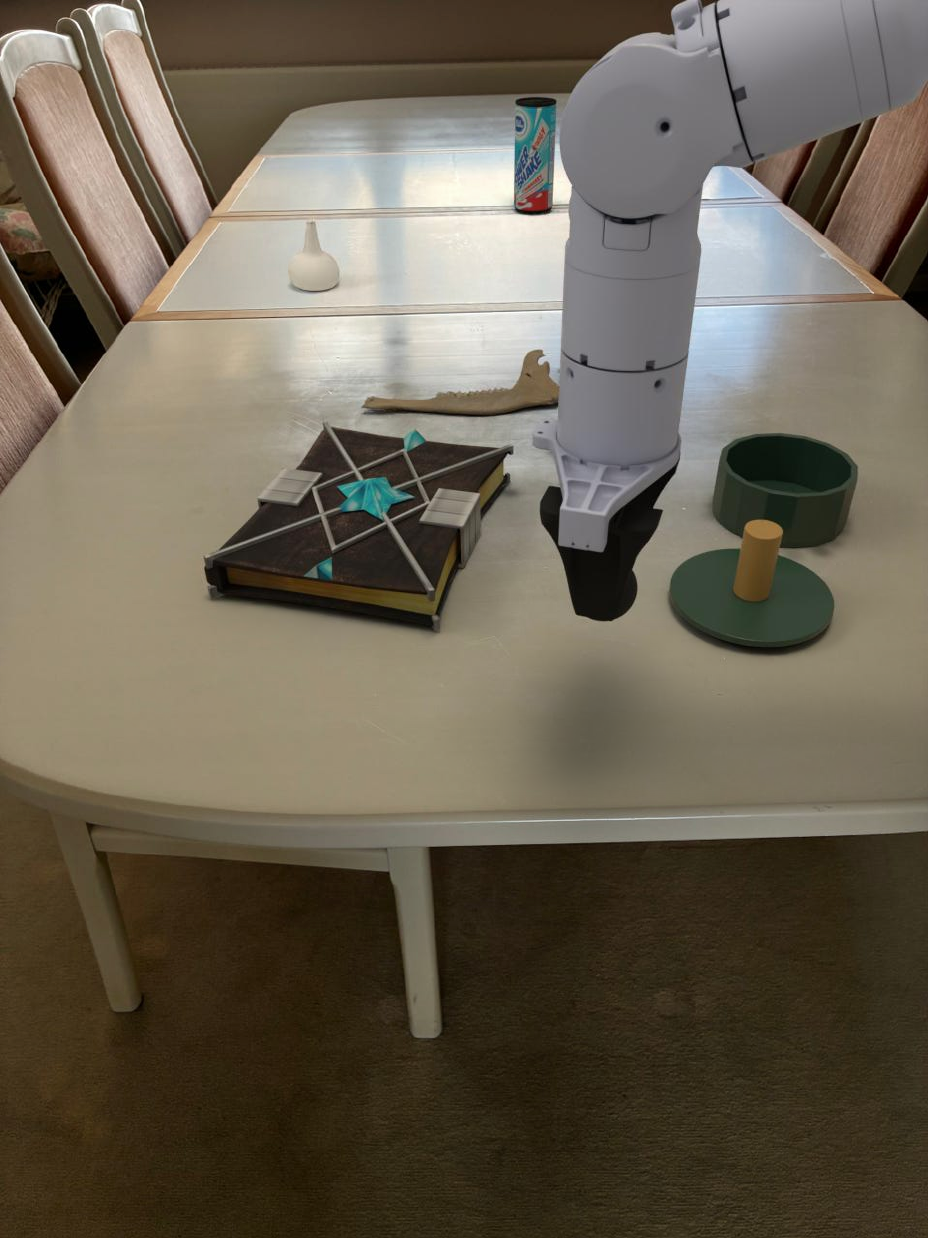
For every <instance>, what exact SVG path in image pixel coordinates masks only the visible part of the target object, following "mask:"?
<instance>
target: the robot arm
mask: <svg viewBox="0 0 928 1238" xmlns="http://www.w3.org/2000/svg"><path fill="white" fill-rule="evenodd" d="M670 11H671V12H670V16H671V21H672V24H673V25H672V26H673V29H674V34H671V33H670V34H664V33H662V32H657V31H656V32H655V31H654V32H647V33H641V34H638V35H634V36H632V37H629V38H628V39H625V40H623V41H622V42H620V43H618V44H617V45H616V46H615V47H613V48H612V49H611V50H609V51H608V52H607V53H606V54H604V55H603V57H601V58H600V59H599V60H598V61H597V62H596V63H595V64H593V66H592V67H591V68H590V69H588V71H587V72H586V73H584V75H583V76H582V77H581V78H580V80H579V81H578V82H577V83H576V85H575V86H574V87H573V90H572V92H571V94H570V95H569V98H568V100H567V102H566V105H565V108H564V111H563V114H562V117H561V120H560V121H561V122H560V127H559V140H558V141H559V153H560V160H561V163H562V167H563V171H564V173H565V175H566V177H567V180H568V181H569V183H570V185H571V191H570V197H569V200H568V219H569V230H568V231H569V234H568V238H567V240H566V241H565V245H564V261H563V262H564V263H563V286H562V307H561V311H562V312H561V329H560V330H561V331H560V355H559V358H560V359H559V380H558V381H559V382H558V386H559V401H558V402H557V405H558V406H557V419H553V418H544V419H541V420H540V421H539V422H538V423H537V424H536V426H535V427H534V429H533V431H532V446H533V447H535V448H536V449H539V450H547V451H550V452H551V453H552V456H553V460H554V464H555V469H556V473H557V478H558V482H559V486H554V485H548V486H547V488H546V490H545V492H544V494H543V495H542V498H541V500H540V501H539V518H540V522H541V525H542V526H543V528H544V529H545V530H546V532H547V533H548V534H549V536H550V538H551V540H552V541H553V543H554V545H555V547H556V550H557V551H558V553H559V556H560V558H561V561H562V565H563V569H564V573H565V577H566V581H567V586H568V593H569V597H570V601H571V605H572V609H573V612H574V614H575V615H576V616H579V617H584V618H587V617H589V618H588V619H590V618H594V619H600V620H605V621H604V622H613V621H615V620H614V618H615V616H616V614H617V612H618V610H619V607H620V605H621V602H622V599H623V596H624V593H625V589H626V586H627V582H628V579H629V575H630V572H631V569H632V570H634V569H633V568H634V566H635V563H636V561H637V558H638V556H639V554H640V553H641V552H642V550H643V549H644V548H645V546H646V545H647V544H648V543H649V542H650V540H651V539H652V537H653V536H654V534H655V533H656V531H657V529H658V527H659V525H660V522H661V519H662V516H663V512H664V510H663V509H660V508H654V507H655V505H656V503H657V501H658V499H659V498H660V496H661V494H662V493H663V491H664V489H665V488H666V487H667V485H668V484H669V482H670V480H671V479H672V478H673V477H674V475H676V473H677V469H678V466H679V463H680V460H681V447H682V438H681V434H680V433H679V432H680V423H681V415H682V408H683V407H682V406H683V400H684V393H685V392H684V391H685V384H686V376H687V368H688V360H689V352H690V351H689V350H690V344H691V343H690V342H691V337H692V328H693V320H694V314H695V306H696V297H697V289H698V288H697V287H698V281H699V274H700V268H701V267H700V266H701V258H702V244H701V240H700V238H699V234H698V229H699V220H700V213H701V205H702V199H703V198H702V197H703V190H704V189H703V188H704V183H705V181H706V180H707V178H708V175H709V174H710V172H711V170H713V168H714V167H729V168H736V169H742V168H747V167H749V166H751V165H754V164H755V163H759V162H763V161H765V160H767V159H770V158H773V157H776V156H777V155H781V154H783V153H786V152H789V151H790V150H793V149H796V148H798V147H801V146H804V145H806V144H810V143H811V142H815V141H817V140H819V139H822V138H825V137H827V136H830V135H832V134H836V133H837V132H840V131H844V130H845V129H848V128H851V127H854V126H856V125H858V124H861V123H864V122H866V121H868V120H871V119H875V118H877V117H879V116H882V115H885V114H888V113H890V112H892V111H895V110H899V109H901V108H903V107H906V106H908V105H911V104H912V103H914V102H915V101H916V100H917V98H918V97H919V95H921V92H922V91H923V89H924V88H925V87H926V85H927V83H928V0H718V1H717V2H713V3H709V4H708V5H706V6H704V7H703V5H702V1H701V0H684V1H681V2H680V3H678V4H676V5H675V6H673V8H672V9H671V10H670Z"/></svg>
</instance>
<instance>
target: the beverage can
mask: <svg viewBox="0 0 928 1238" xmlns="http://www.w3.org/2000/svg"><path fill="white" fill-rule="evenodd" d="M514 102H515V103H514V104H515V108H514V109H515V110H514V111H515V112H514V164H513V165H514V167H513V168H514V171H513V177H514V178H513V186H514V187H513V208H514V210H515V211H516V212H517V213H520V214H522V215H530V216H531V215H533V216H535V215H544V214H547V213H549V212H551V211H552V208H553V204H554V203H553V200H554V177H555V157H556V156H555V153H556V129H557V127H556V125H557V122H556V121H557V102H558V101H557V99H555V98H553V97H546V96H543V97H542V96H528V97H522V98H517V99H515V101H514Z"/></svg>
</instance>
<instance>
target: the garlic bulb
mask: <svg viewBox="0 0 928 1238" xmlns="http://www.w3.org/2000/svg"><path fill="white" fill-rule="evenodd" d="M316 222H317V219H316V218H308V220H306V226H305V231H304V232H305V233H304V244H303V248H302V250H301V251H300V252H298V253H297V254H295V255H293V257H292V258H291V260H290V261H289V264H288V267H287V268H288V269H287V270H288V271H287V275H288V279H289V282H290V283H291V285H293V286H294V287H295V288H297V289H300V290H303V291H310V292H321V291H328V290H330V289H332V288H334V287H336V285H338V283H339V280H340V267H339V265H338V262H337V261H336V259H335V258H334V257H333V256H332V255H331V254H329V253H328V252H326V251H324V250H322V248H321V245H320V240H319V235H318V230H317V225H316V224H317V223H316Z"/></svg>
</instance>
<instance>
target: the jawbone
mask: <svg viewBox="0 0 928 1238" xmlns="http://www.w3.org/2000/svg"><path fill="white" fill-rule="evenodd" d="M543 357H546V354H544V350H543V349H533V350H531V351H528V352H527V353H526V354H525V356H524V358H523V361H522V362H523V363H522V365H521V366H522V367H521V371H520V375H519V378H518V380H517V382H516V383H515V384H514V385H513V387H512V388H507V387H505V388H504V387H503V386H501V387H500V388H499V389H498V388H497V387H494V388H493V389H490V388H488V389H487V390H485V389H481V391H479V390H478V389H477V390H475V391H471V390H469V391H468V392H465V391H464V392H461V391H460V390H458V391H456V392H454V391H451V390H450V391H449V390H448V391H446V392H443V391H439V392H437V393H436V396H435V397H432V398H427V399H399V398H383V397H378V396H373V395H372V396H368V397H366V399H365V400H364V403H363V404H362V405H361V408H362V409H367V410H379V411H381V410H382V411H385V413H386V412H394V411H398V410H399V411H400V410H408V411H412V412H422V413H423V412H424V413H440V414H441V413H442V414H455V415H456V414H457V415H477V416H492V415H493V416H494V415H499V414H500V415H501V414H505V413H511V412H515V411H517V410H521V409H524V408H530V407H535V406H543V405H544V406H546V405H554V404H556V403H558V402H559V384H558V383H556V382H555V380H553V379H552V378H551V376H550V371H551V366H550V362H549V361H548V360H545V361H543V363H542V364H539V360H540V359H541V358H543Z"/></svg>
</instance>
